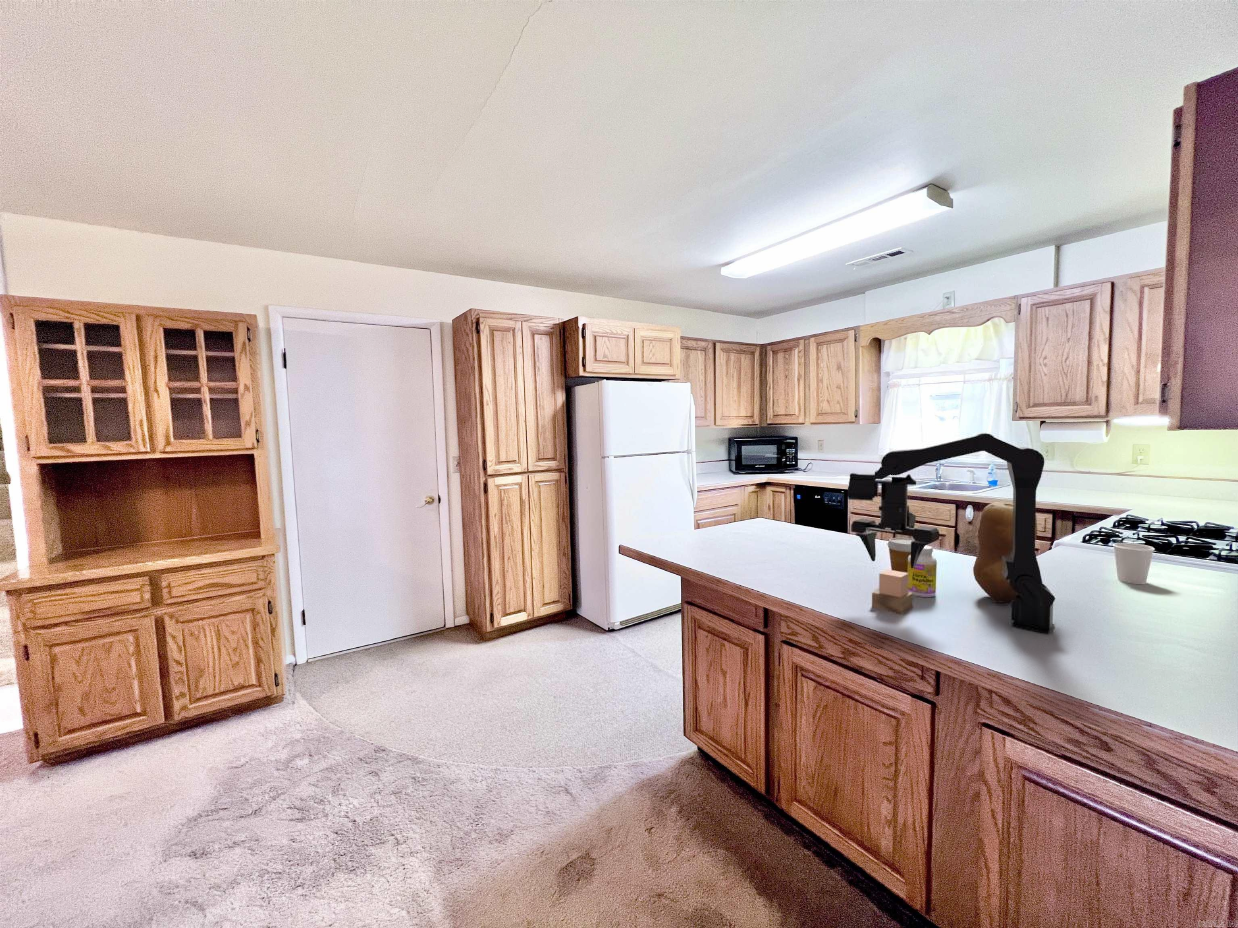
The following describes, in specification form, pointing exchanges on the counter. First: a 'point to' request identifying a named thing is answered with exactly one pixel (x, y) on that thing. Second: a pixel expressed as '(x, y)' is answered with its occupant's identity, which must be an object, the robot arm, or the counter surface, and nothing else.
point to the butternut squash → (995, 551)
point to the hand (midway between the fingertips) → (892, 564)
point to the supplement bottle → (923, 574)
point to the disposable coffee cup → (899, 553)
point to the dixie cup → (1132, 562)
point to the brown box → (892, 602)
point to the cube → (893, 583)
